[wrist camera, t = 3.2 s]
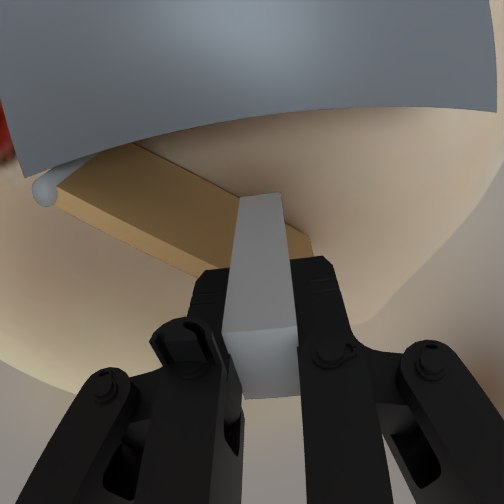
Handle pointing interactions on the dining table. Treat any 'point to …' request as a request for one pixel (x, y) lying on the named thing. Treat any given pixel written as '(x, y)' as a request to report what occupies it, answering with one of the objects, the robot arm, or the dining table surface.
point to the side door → (152, 207)
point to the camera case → (226, 65)
